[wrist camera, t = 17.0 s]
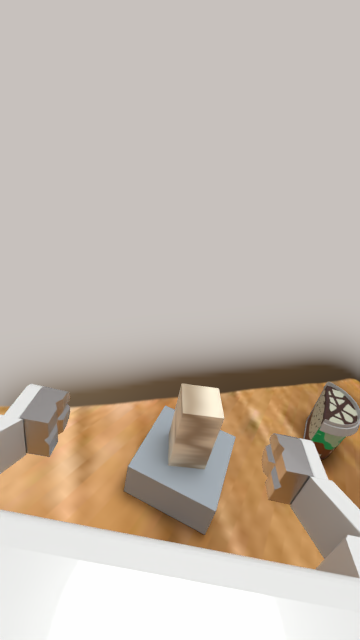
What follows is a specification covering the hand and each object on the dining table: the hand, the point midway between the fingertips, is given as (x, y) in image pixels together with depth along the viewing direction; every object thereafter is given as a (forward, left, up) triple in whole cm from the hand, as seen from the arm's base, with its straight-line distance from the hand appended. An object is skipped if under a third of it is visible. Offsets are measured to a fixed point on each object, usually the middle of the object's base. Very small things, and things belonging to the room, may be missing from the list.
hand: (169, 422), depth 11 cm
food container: (-31, -30, -32) cm, 54 cm away
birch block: (-5, -19, -26) cm, 33 cm away
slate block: (-5, -19, -32) cm, 38 cm away
